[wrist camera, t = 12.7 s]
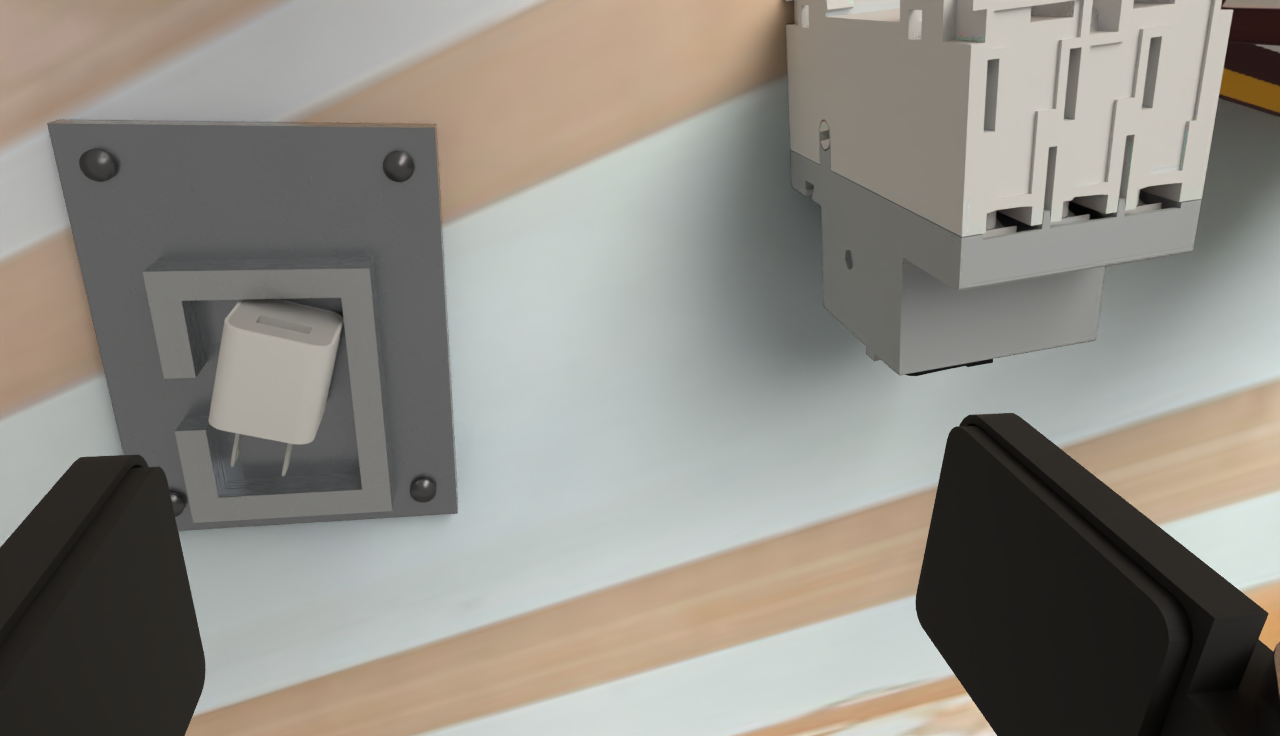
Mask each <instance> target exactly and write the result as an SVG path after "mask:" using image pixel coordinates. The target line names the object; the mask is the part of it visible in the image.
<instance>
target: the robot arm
mask: <svg viewBox="0 0 1280 736" xmlns="http://www.w3.org/2000/svg"><path fill="white" fill-rule="evenodd" d="M916 611H917V616H918V619H919V622H920V624H921V626H922V628H923V629H924V631H925V632H926V633H927V635H928V636H929V638H930V639H931V641H932V642H933V644H934V645H935V646H936V648H937V649H938V651H939V652H940V654H941V655H942V657H943V658H944V659H945V661H946V662H947V664H948V665H949V667H950V668H951V670H952V671H953V672H954V674H955V675H956V677H957V678H958V680H959V681H960V682H961V684H962V685H963V687H964V688H965V690H966V691H967V693H968V694H969V695H970V697H971V698H972V700H973V701H974V703H975V704H976V706H977V707H978V708H979V710H980V711H981V713H982V714H983V716H984V717H985V719H986V720H987V721H988V723H989V724H990V726H991V727H992V729H993V730H994V732H995V733H996V734H997V736H1280V642H1279V643H1278V644H1277V645H1276V647H1275V650H1274V652H1273V651H1272V650H1270V649H1269V648H1268V647H1267V646H1266V645H1264V644H1263V643H1262V642H1261V641H1260V640H1258V638H1259V636H1260V633H1261V631H1262V628H1263V626H1264V624H1265V621H1266V619H1267V616H1268V614H1269V613H1267V612H1266V611H1265V610H1264V609H1262V608H1261V607H1260V606H1259V605H1257V604H1256V603H1255V602H1253V601H1252V600H1251V599H1250V598H1248V597H1247V596H1246V595H1245V594H1243V593H1242V592H1241V591H1240V590H1238V589H1237V588H1236V587H1234V586H1233V585H1232V584H1231V583H1229V582H1228V581H1227V580H1226V579H1224V578H1223V577H1222V576H1221V575H1219V574H1218V573H1217V572H1215V571H1214V570H1213V569H1212V568H1210V567H1209V566H1208V565H1207V564H1205V563H1204V562H1203V561H1202V560H1200V559H1199V558H1198V557H1196V556H1195V555H1194V554H1193V553H1191V552H1190V551H1189V550H1188V549H1186V548H1185V547H1184V546H1183V545H1181V544H1180V543H1179V542H1177V541H1176V540H1175V539H1174V538H1172V537H1171V536H1170V535H1169V534H1167V533H1166V532H1165V531H1164V530H1162V529H1161V528H1160V527H1159V526H1157V525H1156V524H1155V523H1153V522H1152V521H1151V520H1150V519H1148V518H1147V517H1146V516H1145V515H1143V514H1142V513H1141V512H1140V511H1138V510H1137V509H1136V508H1134V507H1133V506H1132V505H1131V504H1129V503H1128V502H1127V501H1126V500H1124V499H1123V498H1122V497H1121V496H1119V495H1118V494H1117V493H1115V492H1114V491H1113V490H1112V489H1110V488H1109V487H1108V486H1107V485H1105V484H1104V483H1103V482H1102V481H1100V480H1099V479H1098V478H1096V477H1095V476H1094V475H1093V474H1091V473H1090V472H1089V471H1088V470H1086V469H1085V468H1084V467H1083V466H1081V465H1080V464H1079V463H1078V462H1076V461H1075V460H1074V459H1072V458H1071V457H1070V456H1069V455H1067V454H1066V453H1065V452H1064V451H1062V450H1061V449H1060V448H1059V447H1057V446H1056V445H1055V444H1053V443H1052V442H1051V441H1050V440H1048V439H1047V438H1046V437H1045V436H1043V435H1042V434H1041V433H1040V432H1038V431H1037V430H1036V429H1034V428H1033V427H1032V426H1031V425H1029V424H1028V423H1027V422H1026V421H1024V420H1023V419H1022V418H1021V417H1019V416H1017V415H1015V414H1014V413H1003V414H982V415H969V416H967V417H965V418H964V419H963V421H962V422H961V424H960V426H959V427H955V428H953V429H952V430H951V432H950V433H949V436H948V439H947V443H946V448H945V453H944V458H943V463H942V468H941V473H940V479H939V484H938V489H937V494H936V499H935V504H934V509H933V514H932V519H931V524H930V529H929V534H928V539H927V544H926V549H925V554H924V559H923V564H922V569H921V574H920V579H919V584H918V589H917V594H916ZM204 680H205V657H204V652H203V647H202V642H201V638H200V633H199V628H198V623H197V619H196V614H195V609H194V604H193V600H192V595H191V590H190V586H189V581H188V576H187V571H186V567H185V562H184V557H183V552H182V548H181V543H180V538H179V533H178V529H177V524H176V519H175V515H174V510H173V505H172V500H171V496H170V491H169V486H168V481H167V478H166V474H165V472H164V471H163V469H162V468H161V467H148V464H147V462H146V461H145V459H144V458H143V457H142V456H140V455H119V456H98V457H80V458H79V459H78V460H76V461H75V462H74V463H73V464H72V465H71V467H70V468H69V469H68V470H67V471H66V472H65V473H64V475H63V476H62V477H61V478H60V479H59V480H58V482H57V483H56V484H55V485H54V486H53V487H52V489H51V490H50V491H49V492H48V493H47V494H46V495H45V497H44V498H43V499H42V500H41V501H40V502H39V504H38V505H37V506H36V507H35V508H34V509H33V510H32V512H31V513H30V514H29V515H28V516H27V517H26V519H25V520H24V521H23V522H22V523H21V524H20V526H19V527H18V528H17V529H16V530H15V531H14V532H13V534H12V535H11V536H10V537H9V538H8V539H7V541H6V542H5V543H4V544H3V545H2V546H1V547H0V736H185V733H186V731H187V728H188V726H189V723H190V721H191V718H192V716H193V713H194V711H195V708H196V706H197V703H198V701H199V698H200V696H201V693H202V690H203V686H204Z"/></svg>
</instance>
